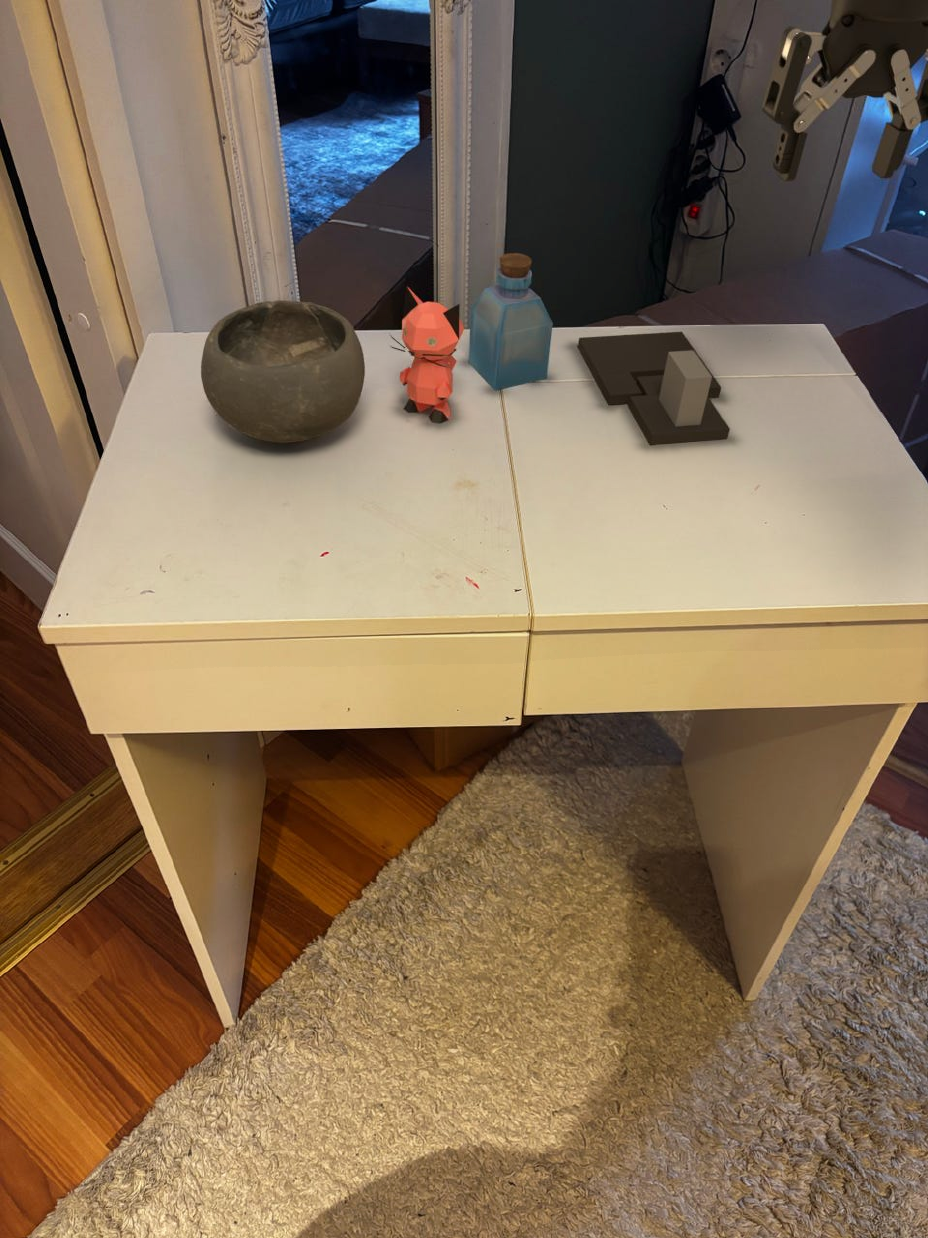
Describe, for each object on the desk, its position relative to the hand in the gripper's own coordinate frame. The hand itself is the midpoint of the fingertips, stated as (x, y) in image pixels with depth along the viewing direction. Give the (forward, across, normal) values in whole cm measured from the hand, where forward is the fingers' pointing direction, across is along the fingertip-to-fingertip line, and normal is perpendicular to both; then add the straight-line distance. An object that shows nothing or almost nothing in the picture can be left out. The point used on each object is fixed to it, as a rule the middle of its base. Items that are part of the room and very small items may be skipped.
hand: (833, 176), depth 76 cm
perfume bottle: (+24, -23, +14) cm, 36 cm away
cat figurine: (+24, -32, +8) cm, 41 cm away
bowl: (+24, -46, +6) cm, 52 cm away
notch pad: (+24, -8, +12) cm, 28 cm away
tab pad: (+24, -8, +4) cm, 26 cm away
